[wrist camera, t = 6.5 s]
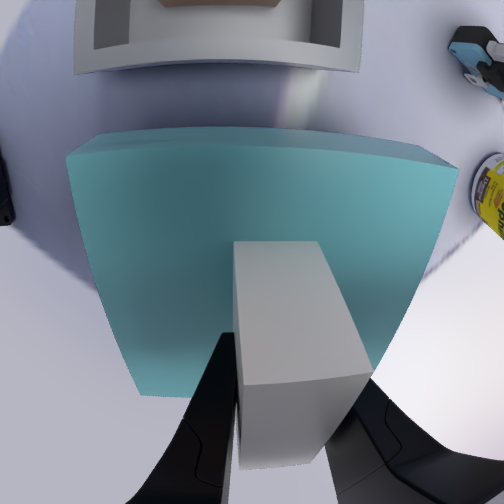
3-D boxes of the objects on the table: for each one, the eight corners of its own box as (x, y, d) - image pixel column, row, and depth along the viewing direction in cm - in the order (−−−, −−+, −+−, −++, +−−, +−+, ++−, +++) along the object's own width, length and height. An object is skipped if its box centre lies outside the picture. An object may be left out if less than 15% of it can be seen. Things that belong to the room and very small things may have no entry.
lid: (146, 355, 15) (131, 479, 9) (98, 134, 9) (-45, 253, 3) (353, 348, 16) (391, 458, 10) (419, 145, 10) (560, 249, 4)
